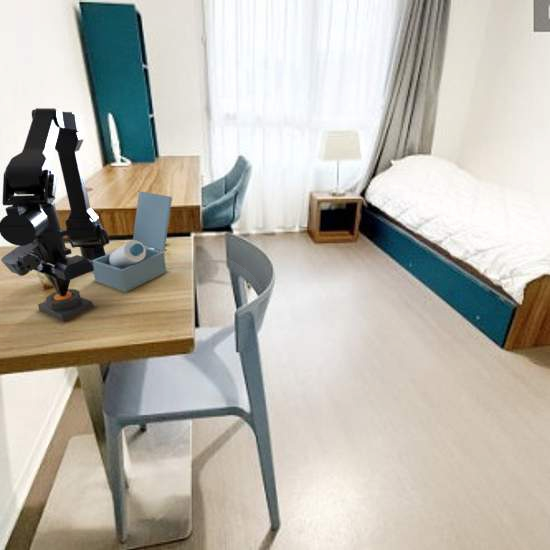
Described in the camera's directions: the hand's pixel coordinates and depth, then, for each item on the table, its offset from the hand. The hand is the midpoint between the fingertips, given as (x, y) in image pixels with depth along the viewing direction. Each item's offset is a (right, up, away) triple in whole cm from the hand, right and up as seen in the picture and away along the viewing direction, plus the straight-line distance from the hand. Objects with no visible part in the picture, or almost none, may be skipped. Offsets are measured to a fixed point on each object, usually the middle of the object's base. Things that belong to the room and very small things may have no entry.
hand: (63, 295), depth 81 cm
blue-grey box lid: (+13, +19, +18) cm, 29 cm away
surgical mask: (+4, +11, +32) cm, 34 cm away
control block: (0, -3, +2) cm, 4 cm away
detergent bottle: (+5, +8, +17) cm, 19 cm away
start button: (0, -2, +1) cm, 2 cm away
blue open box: (+9, +4, +17) cm, 19 cm away
